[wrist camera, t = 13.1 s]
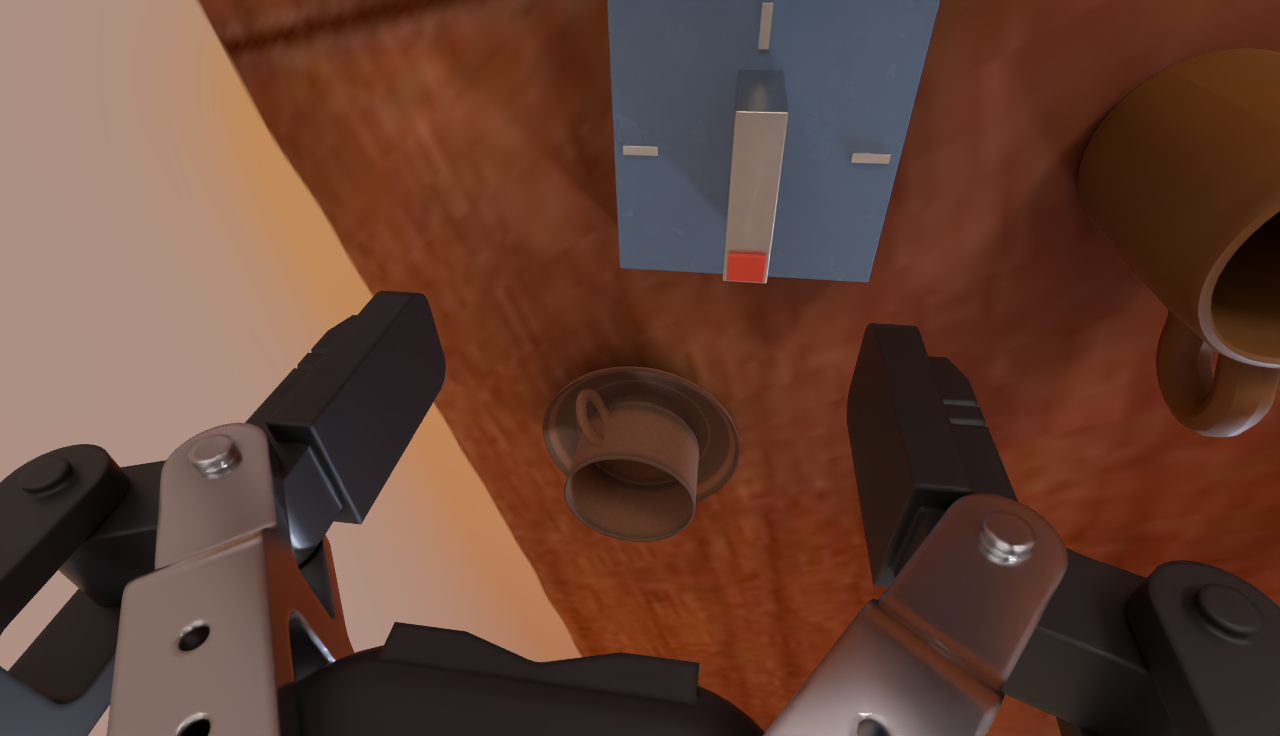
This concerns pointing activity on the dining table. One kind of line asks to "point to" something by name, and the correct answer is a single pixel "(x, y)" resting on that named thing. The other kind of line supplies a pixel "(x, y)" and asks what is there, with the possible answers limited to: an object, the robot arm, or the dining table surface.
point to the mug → (1200, 226)
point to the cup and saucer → (639, 450)
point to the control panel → (816, 132)
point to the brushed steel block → (755, 174)
